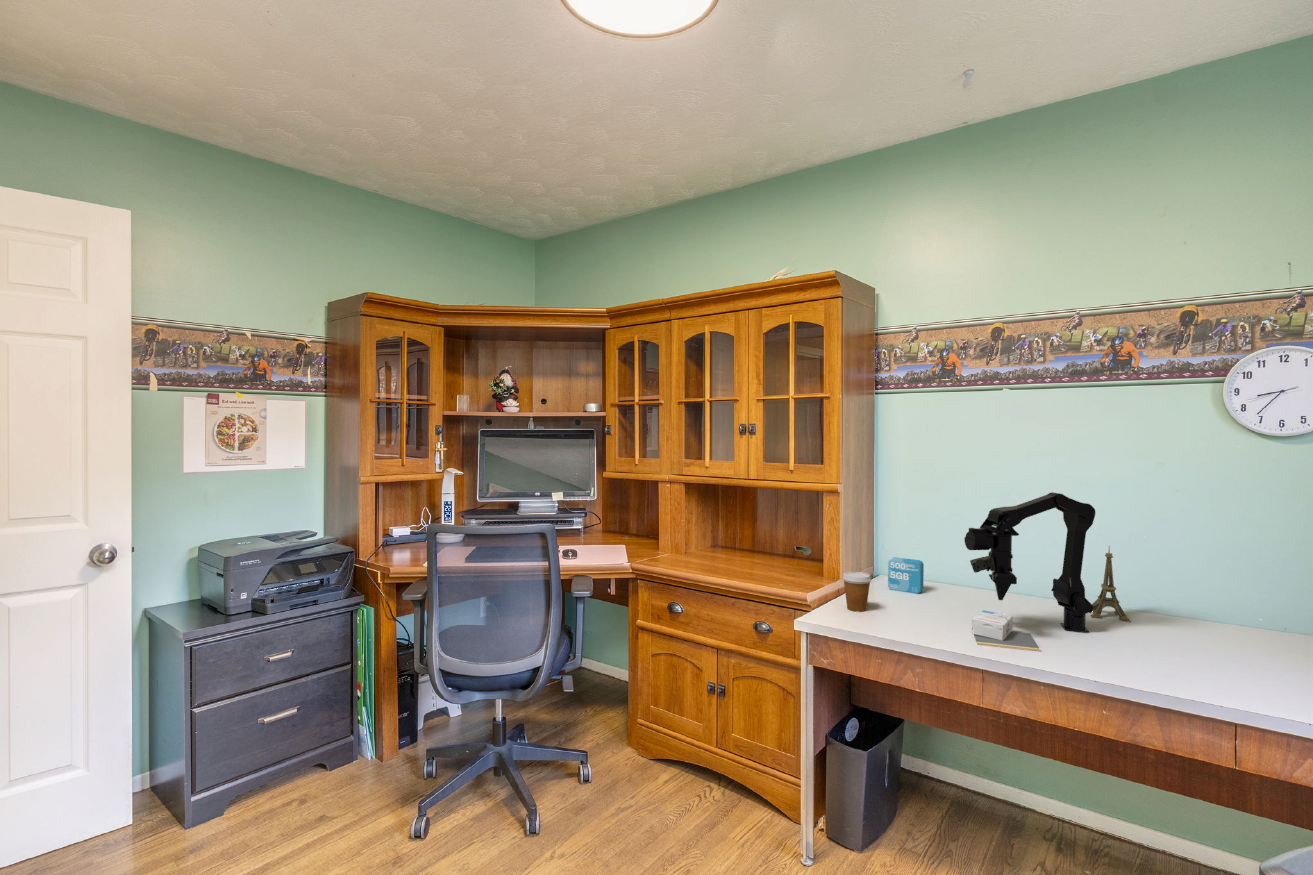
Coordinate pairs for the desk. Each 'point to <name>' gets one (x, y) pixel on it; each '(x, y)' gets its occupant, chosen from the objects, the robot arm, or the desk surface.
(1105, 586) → the eiffel tower
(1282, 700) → the desk surface
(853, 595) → the disposable coffee cup
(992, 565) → the robot arm
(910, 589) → the data package
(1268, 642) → the desk surface
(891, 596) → the desk surface
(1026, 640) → the mat
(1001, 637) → the ink box
